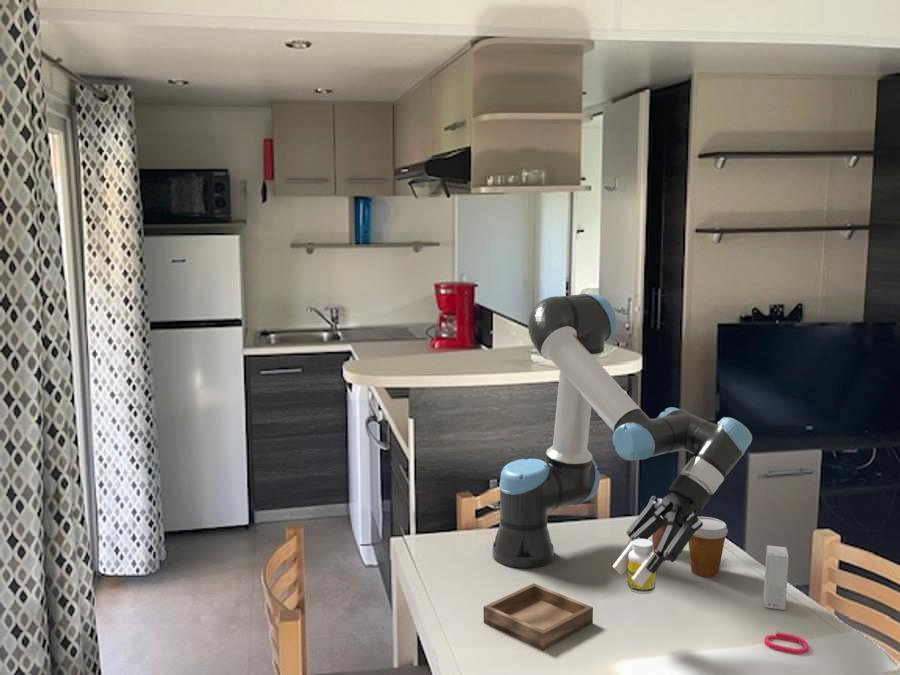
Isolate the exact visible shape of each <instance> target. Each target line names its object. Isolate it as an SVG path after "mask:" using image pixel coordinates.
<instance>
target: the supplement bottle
mask: <svg viewBox="0 0 900 675" xmlns="http://www.w3.org/2000/svg"><path fill="white" fill-rule="evenodd" d="M632 549H633V550H632V551H630V553H629V556H628V568H627V588H628V590H629V591H630V592H632V593H635V594H639V595H648V594H652V593H654V592H655V590H656V576H657V573H656V572H657V571H656V572H655V573H652V574H651V575H650V576H649V578H648V579H647V580H646V582H645V583H644V584H643V586H642V587H640V586H639V585H638V584H637V583H636V582H635V581H634V580H633V579H631V578H632V577H633V576H634V574H635V573H636V572H637V570H638V569H639V568H640V566H641V565H642V564H643V562H644V561H645V560H646V558H647V557H648V556H649V554H650V553H651V552H653V542H652V540H650V539H639V538H638V539H635V540H633V542H632Z"/></svg>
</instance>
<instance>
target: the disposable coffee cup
mask: <svg viewBox="0 0 900 675" xmlns="http://www.w3.org/2000/svg"><path fill="white" fill-rule="evenodd" d="M697 517H698V518H699V519H700V521H701V522H702V523H703V526H702V527H701V528H699V529H698V530H697V531H696V532H695V533H694V534H693V536H692V537H691V539H690V540H689V541H688V550H689V562H690V571H691V573H693V575H696V576H700V577H705V578H711V577H716V576H719V573H720V568H721V562H722V557H723V551H724V546H725V540H726V536H727V535H728V533H729V529H728V527H727V524H726V522H724V521H723V520H721V519H718V518H715V517H710V516H709V517H708V516H697Z"/></svg>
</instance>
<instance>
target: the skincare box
mask: <svg viewBox="0 0 900 675" xmlns="http://www.w3.org/2000/svg"><path fill="white" fill-rule="evenodd" d="M765 555H766V556H765V570H764V584H763V585H764V586H763V602H764V607H765V608H767V609H774V610H775V609H776V610H781V611H782V610H783V611H784V610H786V605H787V604H786V603H787V601H786V600H787V588H788V572H789V558H790V557H789V552H788V548H787V547H785V546H777V545H776V546H775V545H766V554H765Z"/></svg>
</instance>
